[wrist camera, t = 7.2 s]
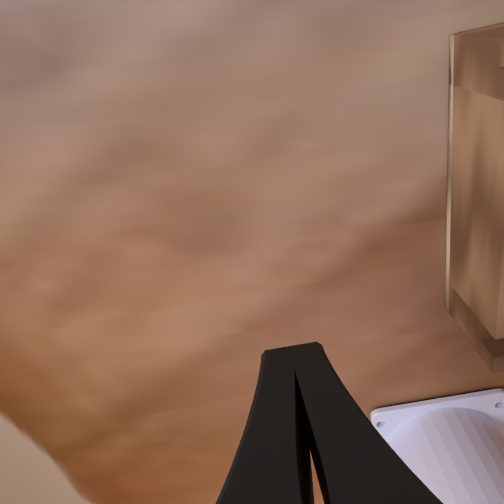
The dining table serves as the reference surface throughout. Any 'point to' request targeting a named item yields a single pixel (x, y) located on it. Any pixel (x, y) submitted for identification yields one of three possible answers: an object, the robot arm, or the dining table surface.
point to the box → (476, 189)
